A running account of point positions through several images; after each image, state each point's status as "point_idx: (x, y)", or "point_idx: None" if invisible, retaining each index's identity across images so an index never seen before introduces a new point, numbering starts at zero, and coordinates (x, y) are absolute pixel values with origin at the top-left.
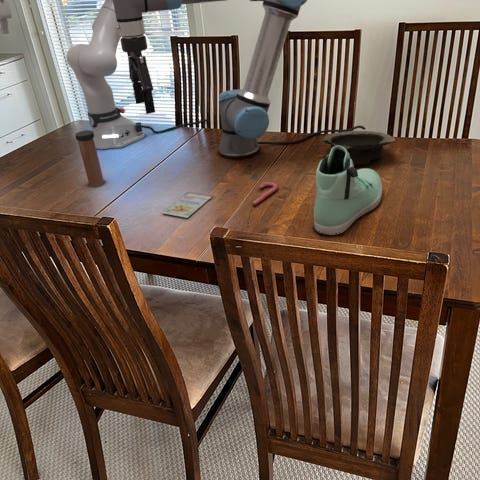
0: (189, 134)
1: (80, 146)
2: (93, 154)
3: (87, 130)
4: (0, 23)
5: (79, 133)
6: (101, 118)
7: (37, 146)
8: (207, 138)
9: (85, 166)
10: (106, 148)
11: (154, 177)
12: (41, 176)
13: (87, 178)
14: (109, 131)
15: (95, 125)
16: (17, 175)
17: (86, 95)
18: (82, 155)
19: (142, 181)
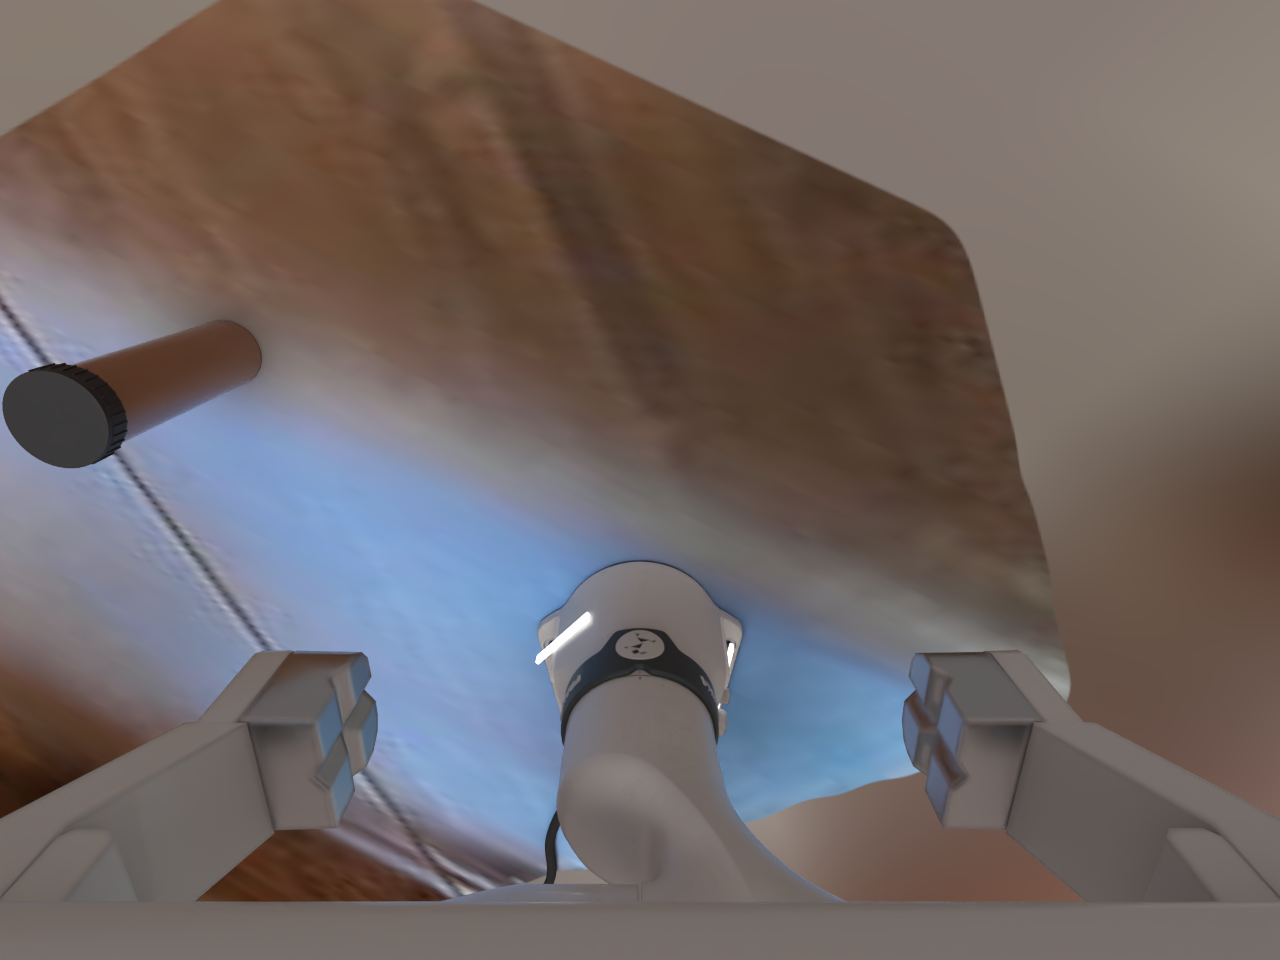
0: (446, 843)
1: (86, 361)
2: None
3: (94, 456)
4: (88, 808)
5: (69, 401)
6: (575, 680)
7: (936, 413)
8: (350, 850)
9: (160, 338)
10: (580, 586)
11: (122, 530)
12: (516, 229)
13: (214, 328)
14: (564, 653)
15: (611, 637)
16: (634, 152)
17: (634, 747)
18: (123, 349)
19: (116, 481)
